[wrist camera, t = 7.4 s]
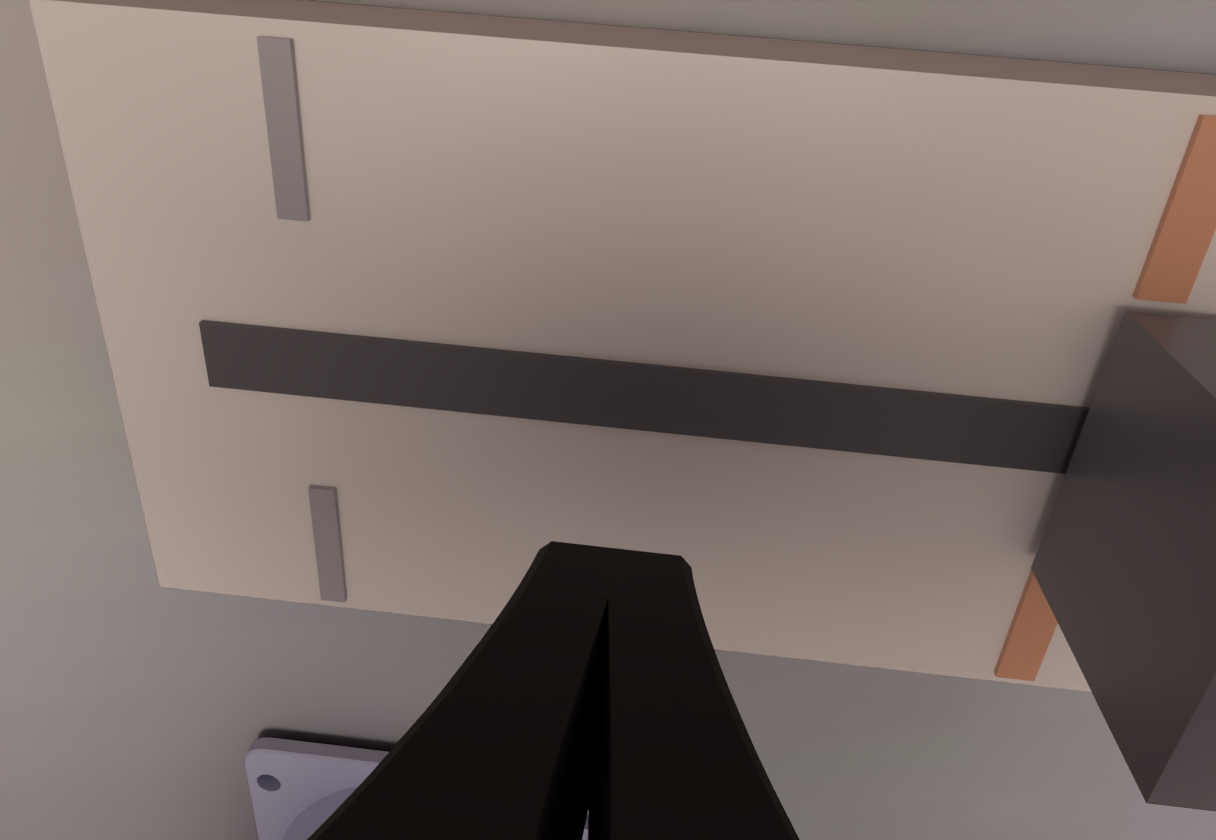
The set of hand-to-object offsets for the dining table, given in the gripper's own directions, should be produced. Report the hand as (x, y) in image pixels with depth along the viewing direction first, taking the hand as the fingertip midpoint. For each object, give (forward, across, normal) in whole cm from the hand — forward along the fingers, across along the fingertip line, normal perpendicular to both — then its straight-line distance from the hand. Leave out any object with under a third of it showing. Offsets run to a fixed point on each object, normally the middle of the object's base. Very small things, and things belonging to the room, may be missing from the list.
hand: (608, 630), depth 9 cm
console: (+7, -1, 0) cm, 7 cm away
